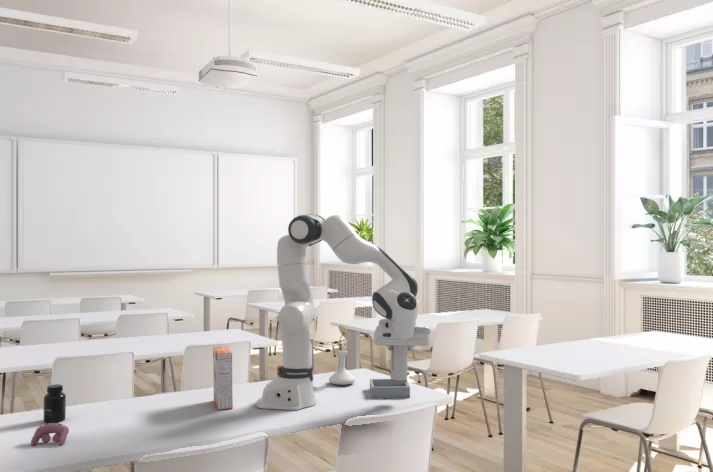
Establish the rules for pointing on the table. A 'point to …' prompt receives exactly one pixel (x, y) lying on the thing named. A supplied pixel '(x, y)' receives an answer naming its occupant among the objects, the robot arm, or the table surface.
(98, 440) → the table surface
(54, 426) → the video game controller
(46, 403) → the supplement bottle
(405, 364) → the travel mug
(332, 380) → the flower in vase
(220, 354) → the cracker box
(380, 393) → the tray
